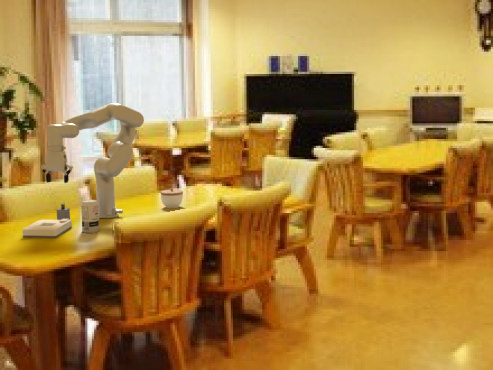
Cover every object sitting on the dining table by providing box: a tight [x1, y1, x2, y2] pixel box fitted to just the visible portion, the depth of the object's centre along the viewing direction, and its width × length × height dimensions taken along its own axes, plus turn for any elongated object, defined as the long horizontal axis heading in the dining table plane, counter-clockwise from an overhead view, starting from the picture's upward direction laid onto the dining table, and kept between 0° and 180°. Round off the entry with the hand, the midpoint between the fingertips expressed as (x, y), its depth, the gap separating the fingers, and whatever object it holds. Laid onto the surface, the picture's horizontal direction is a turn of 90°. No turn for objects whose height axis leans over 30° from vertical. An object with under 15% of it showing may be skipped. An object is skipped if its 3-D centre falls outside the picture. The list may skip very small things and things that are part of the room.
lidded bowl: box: [160, 187, 184, 209], centre depth 411 cm, size 13×13×11 cm
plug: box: [56, 203, 71, 220], centre depth 367 cm, size 5×5×10 cm
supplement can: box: [80, 199, 100, 234], centre depth 350 cm, size 8×8×15 cm
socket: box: [21, 219, 73, 239], centre depth 349 cm, size 16×22×5 cm
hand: (57, 182), depth 367 cm, fingers open, 9 cm apart
